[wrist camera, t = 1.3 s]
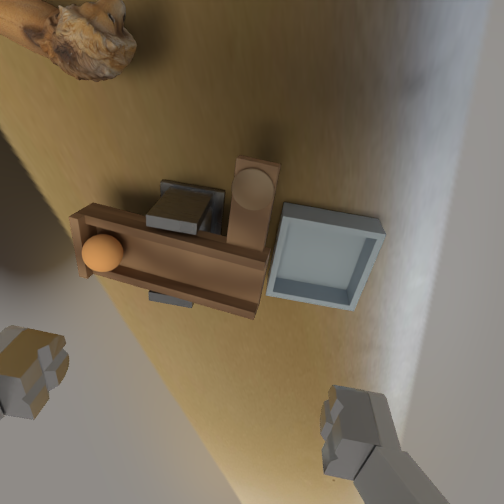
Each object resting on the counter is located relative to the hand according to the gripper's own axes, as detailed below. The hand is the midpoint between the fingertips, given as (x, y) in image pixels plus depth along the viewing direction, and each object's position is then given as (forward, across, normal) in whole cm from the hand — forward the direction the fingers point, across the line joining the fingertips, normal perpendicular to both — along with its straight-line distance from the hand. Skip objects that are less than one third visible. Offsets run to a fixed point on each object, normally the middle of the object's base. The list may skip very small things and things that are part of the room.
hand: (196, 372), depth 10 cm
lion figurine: (+22, +15, -9) cm, 28 cm away
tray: (+23, -7, +8) cm, 25 cm away
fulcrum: (+23, +6, +8) cm, 25 cm away
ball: (+16, +12, +8) cm, 21 cm away
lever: (+18, +6, +4) cm, 19 cm away
